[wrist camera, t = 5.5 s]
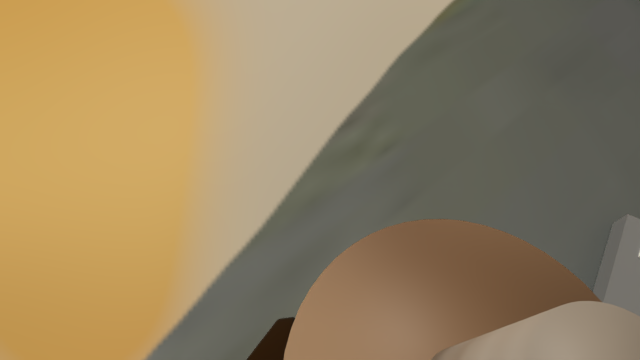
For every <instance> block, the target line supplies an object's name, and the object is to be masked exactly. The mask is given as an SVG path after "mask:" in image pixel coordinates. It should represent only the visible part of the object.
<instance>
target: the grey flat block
mask: <svg viewBox="0 0 640 360" xmlns="http://www.w3.org/2000/svg"><path fill="white" fill-rule="evenodd" d="M593 293H594V294H595V295H596V296H597V297H598V298H599V299H600V300H601V301H602V302H603V303H607V304H612V305H615V306H618V307H621V308H624V309H626V310H628V311H630V312H632V313H634V314H636V315H638V316H640V219H638V218H636V217H634V216H631V215H629V214H627V215H626V216H624V217H622V218H621V219H619V220H617V221H616V222H614V223H613V225H612V228H611V232H610V235H609V239H608V242H607V245H606V249H605V252H604V255H603V259H602V262H601V265H600V269H599V272H598V276H597V279H596V282H595V286H594V289H593Z"/></svg>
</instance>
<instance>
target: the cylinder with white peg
mask: <svg viewBox="0 0 640 360" xmlns="http://www.w3.org/2000/svg"><path fill="white" fill-rule="evenodd" d="M283 360H640V316H638V315H636V314H634V313H632V312H630V311H628V310H626V309H624V308H621V307H618V306H615V305H612V304H607V303H603V302H602V301H601V300H600V299H599V298H598V297H597V296H596V295H595V294H594V293H593V292H592V291H591V290H590V289H589V288H588V287H587V286H586V285H585V284H584V283H583V282H582V281H581V280H580V279H579V278H577V277H576V276H575V275H574V274H573V273H572V272H570V271H569V270H568V269H567V268H566V267H565V266H563V265H562V264H560V263H559V262H558V261H556V260H555V259H553V258H552V257H550V256H549V255H548V254H546V253H545V252H543V251H541V250H540V249H538V248H536V247H534V246H533V245H531V244H529V243H527V242H526V241H524V240H521V239H519V238H517V237H515V236H512V235H510V234H508V233H506V232H503V231H500V230H497V229H494V228H491V227H488V226H485V225H480V224H476V223H471V222H466V221H459V220H448V219H425V220H417V221H411V222H404V223H401V224H397V225H394V226H390V227H387V228H384V229H382V230H379V231H377V232H375V233H372V234H370V235H368V236H366V237H365V238H363V239H361V240H360V241H358V242H356V243H355V244H353V245H352V246H350V247H349V248H348V249H346V250H345V251H344V252H343V253H341V254H340V255H339V256H338V257H337V258H336V259H335V260H334V261H333V262H332V263H331V264H330V265H329V266H328V267H327V268H326V269H325V270H324V271H323V272H322V274H321V275H320V276H319V278H318V279H317V280H316V281H315V283H314V284H313V285H312V287H311V288H310V290H309V292H308V294H307V295H306V297H305V299H304V301H303V302H302V304H301V306H300V308H299V311H298V313H297V315H296V318H295V320H294V323H293V325H292V327H291V331H290V334H289V338H288V342H287V345H286V349H285V353H284V359H283Z"/></svg>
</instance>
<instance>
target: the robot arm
mask: <svg viewBox="0 0 640 360" xmlns="http://www.w3.org/2000/svg"><path fill="white" fill-rule="evenodd" d="M294 320H295V318H294V317H289V318H281V319H278V320H277V321H276V322H275V323H274V325H273V326H272V327H271V329H270V330H269V331H268V332H267V334H266V335H265V336H264V338H263V339H262V340H261V342H260V343H259V344H258V345H257V347H256V348H255V349H254V351H253V352H252V353H251V354H250V356H249V357H248V358H247V360H283V359H284V353H285V349H286V345H287V342H288V338H289V334H290V331H291V327H292V325H293V323H294Z"/></svg>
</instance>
